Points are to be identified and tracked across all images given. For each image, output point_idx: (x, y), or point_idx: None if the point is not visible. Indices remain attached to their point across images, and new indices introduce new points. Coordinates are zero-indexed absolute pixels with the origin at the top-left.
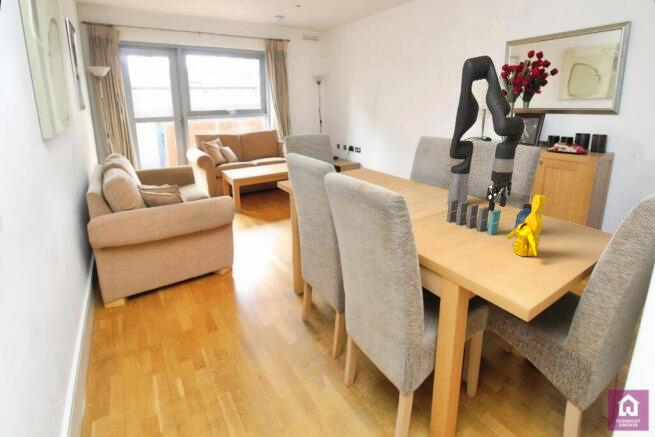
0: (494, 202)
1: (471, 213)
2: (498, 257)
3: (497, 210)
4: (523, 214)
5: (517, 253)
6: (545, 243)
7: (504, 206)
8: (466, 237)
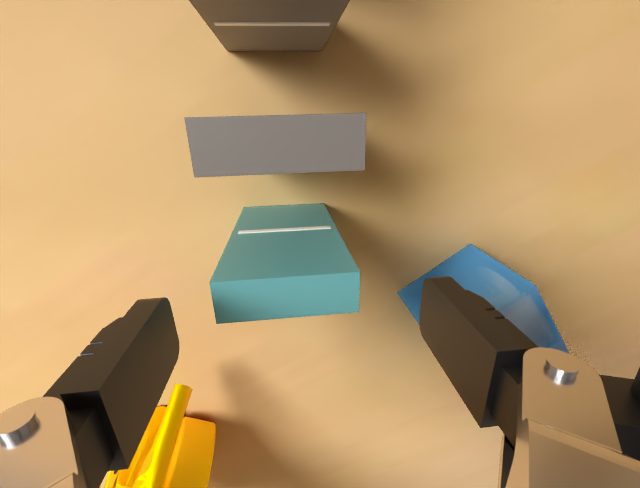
0: (105, 467)
1: (200, 5)
2: None
3: (313, 302)
4: None
5: None
6: (372, 417)
7: (426, 334)
8: (56, 161)
